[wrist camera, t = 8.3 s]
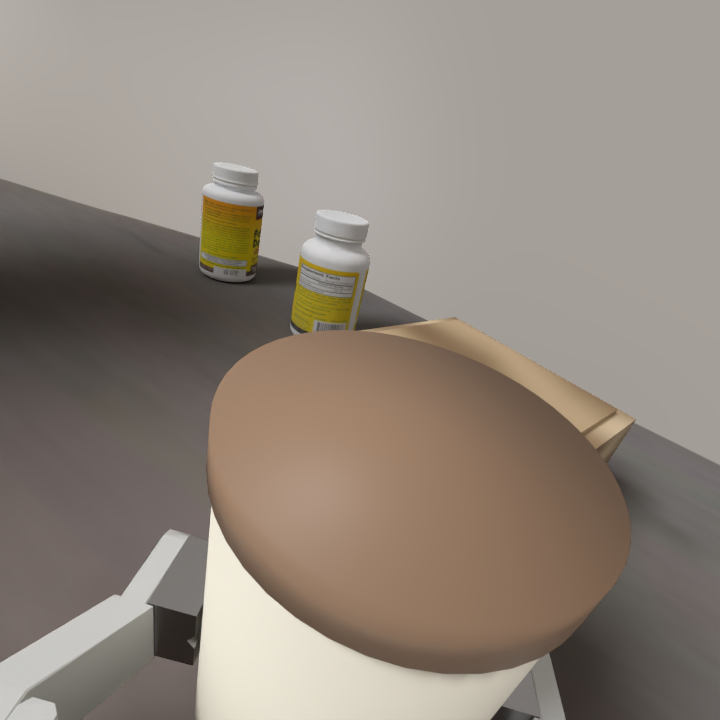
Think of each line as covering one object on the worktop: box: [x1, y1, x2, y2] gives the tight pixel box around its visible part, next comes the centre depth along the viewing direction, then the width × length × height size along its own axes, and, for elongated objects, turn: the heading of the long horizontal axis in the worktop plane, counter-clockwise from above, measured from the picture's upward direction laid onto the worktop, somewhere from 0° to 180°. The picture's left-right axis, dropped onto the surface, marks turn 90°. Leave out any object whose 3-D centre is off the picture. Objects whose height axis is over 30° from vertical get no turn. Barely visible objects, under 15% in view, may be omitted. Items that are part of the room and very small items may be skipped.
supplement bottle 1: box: [199, 162, 264, 282], centre depth 40 cm, size 6×6×10 cm
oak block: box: [361, 317, 636, 464], centre depth 22 cm, size 12×12×6 cm
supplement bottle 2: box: [290, 210, 370, 335], centre depth 33 cm, size 5×5×10 cm
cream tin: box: [194, 330, 631, 720], centre depth 9 cm, size 6×6×12 cm
